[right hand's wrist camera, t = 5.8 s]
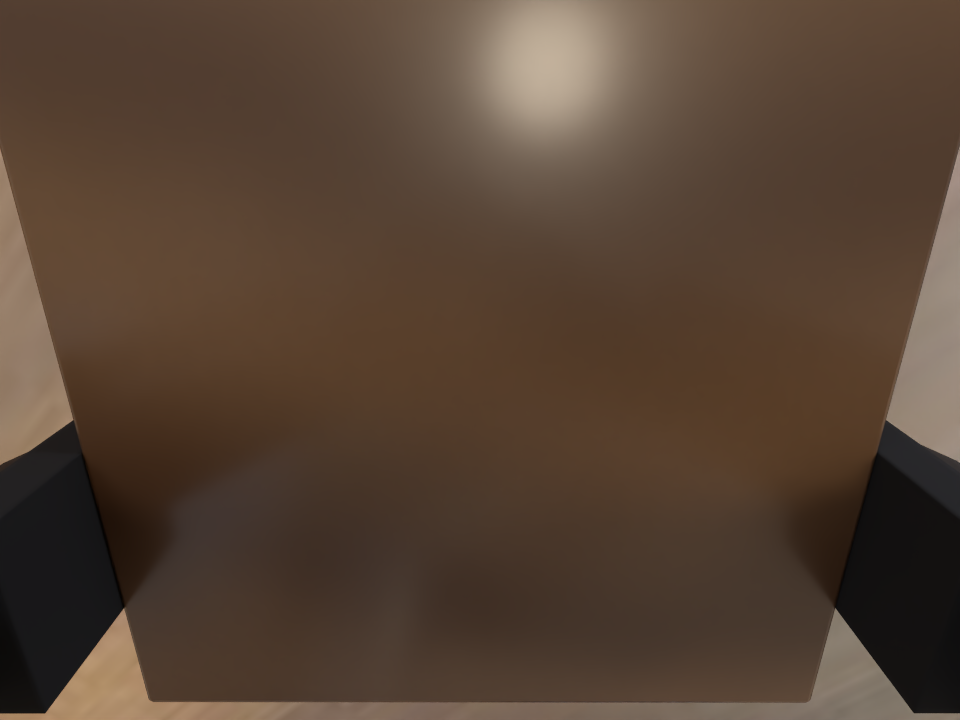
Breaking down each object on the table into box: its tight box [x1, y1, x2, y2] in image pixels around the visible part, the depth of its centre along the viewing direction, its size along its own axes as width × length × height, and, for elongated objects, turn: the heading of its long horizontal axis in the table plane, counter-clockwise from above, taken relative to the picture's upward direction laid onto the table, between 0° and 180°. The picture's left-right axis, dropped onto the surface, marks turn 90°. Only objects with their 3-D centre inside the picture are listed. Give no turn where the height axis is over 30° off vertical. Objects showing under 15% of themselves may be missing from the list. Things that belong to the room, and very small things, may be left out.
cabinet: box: [0, 0, 960, 702], centre depth 10 cm, size 18×11×8 cm, turn 0°
